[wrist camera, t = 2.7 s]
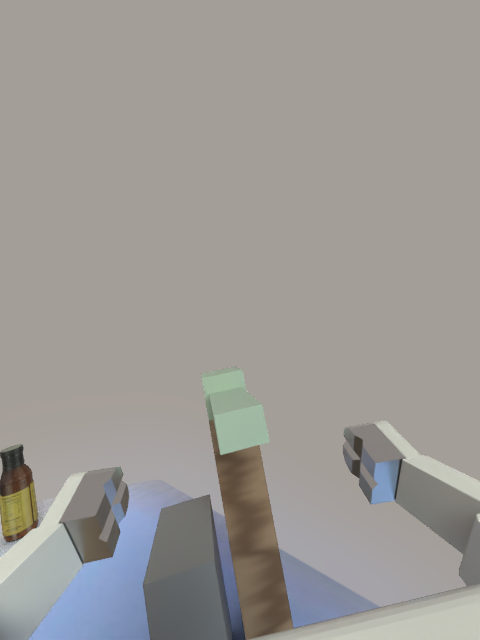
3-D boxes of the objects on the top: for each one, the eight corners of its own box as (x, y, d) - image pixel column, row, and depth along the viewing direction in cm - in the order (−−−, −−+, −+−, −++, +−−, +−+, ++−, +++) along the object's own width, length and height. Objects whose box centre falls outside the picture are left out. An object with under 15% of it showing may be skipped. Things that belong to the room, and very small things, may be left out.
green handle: (241, 400, 35) (235, 366, 36) (275, 440, 20) (263, 378, 20) (207, 409, 34) (201, 373, 35) (214, 456, 19) (203, 391, 19)
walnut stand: (277, 596, 33) (241, 400, 35) (301, 673, 25) (253, 415, 27) (241, 610, 32) (207, 409, 34) (255, 695, 24) (209, 425, 26)
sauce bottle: (21, 525, 60) (14, 443, 62) (45, 521, 60) (37, 439, 62) (-7, 547, 54) (-14, 455, 56) (20, 542, 54) (12, 450, 56)
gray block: (232, 632, 29) (209, 494, 31) (248, 771, 20) (214, 560, 21) (182, 653, 28) (161, 508, 30) (173, 811, 19) (143, 585, 20)
